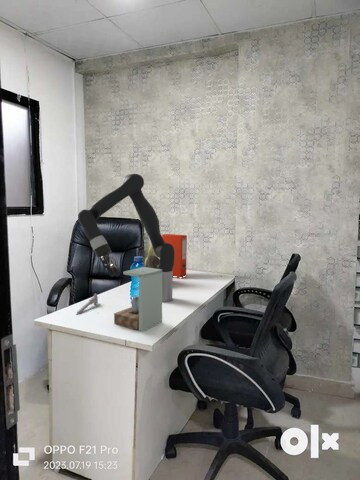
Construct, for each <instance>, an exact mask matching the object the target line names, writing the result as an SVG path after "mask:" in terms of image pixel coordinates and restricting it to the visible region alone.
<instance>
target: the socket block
mask: <svg viewBox="0 0 360 480" xmlns="http://www.w3.org/2000/svg"><path fill="white" fill-rule="evenodd" d="M113 314H114V315H113V317H114V318H113V319H114V322H113V324H115V325H118V326H120V327H124V328H128V329H132V330H136V331H139V314H137V315H136V314H132V306H131V307H128V308H125V309H122V310H119V311H117V312H115V313H113Z"/></svg>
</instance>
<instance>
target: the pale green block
mask: <svg viewBox="0 0 360 480" xmlns="http://www.w3.org/2000/svg"><path fill="white" fill-rule="evenodd" d="M122 272H123V275H125V276H131V277H132V276H133V277H136V278H137V277H138V279H139V288H138V297H139V330H138V331H139V332H142V333H144V332H146V331H147V330H150V329H152V328H154V327H156V326H157V325H160V324H162V323H163V302H162V270H161V269H154V268H147V267H144V266H142V267H139V268H134V269H130V270H129V269H128V270H125V271H122Z"/></svg>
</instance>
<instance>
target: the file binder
mask: <svg viewBox="0 0 360 480" xmlns="http://www.w3.org/2000/svg"><path fill="white" fill-rule="evenodd" d="M161 236H162V238H163V240H164V241H165V243H169V244H171V245H172V246H173V247H174V251H175V257H174V266H173V276H177V277H183V276H185V275H186V276H187V249H188V248H187V245H188V243H187V241H188V238H187V237H188V236H187V235H185V234H175V233H174V234H171V233H166V234H165V233H164V234H161Z"/></svg>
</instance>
